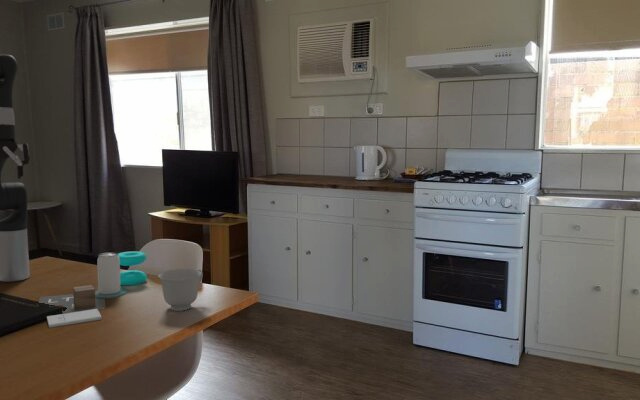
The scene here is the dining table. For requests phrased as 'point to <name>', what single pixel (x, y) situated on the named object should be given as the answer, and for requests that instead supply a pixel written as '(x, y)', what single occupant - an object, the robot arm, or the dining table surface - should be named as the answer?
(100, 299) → the tile
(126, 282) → the donuts
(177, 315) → the dining table surface
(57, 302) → the tile
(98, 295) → the coaster
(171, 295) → the teacup
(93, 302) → the walnut block
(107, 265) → the can
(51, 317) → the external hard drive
